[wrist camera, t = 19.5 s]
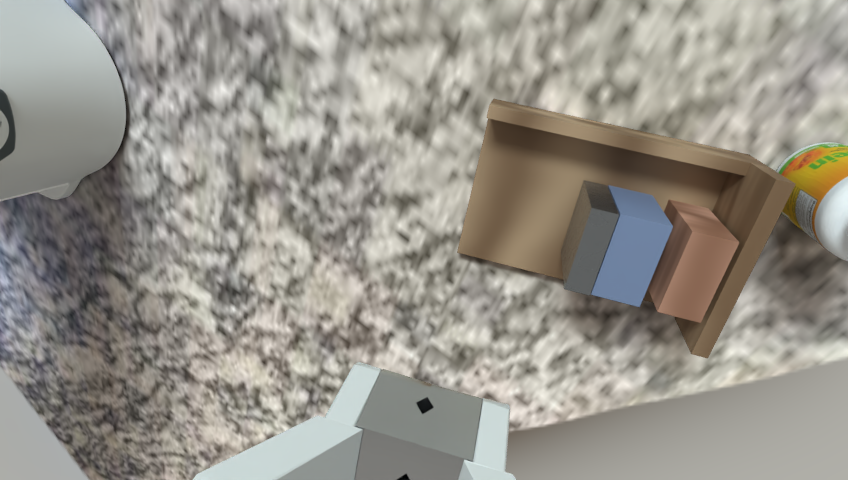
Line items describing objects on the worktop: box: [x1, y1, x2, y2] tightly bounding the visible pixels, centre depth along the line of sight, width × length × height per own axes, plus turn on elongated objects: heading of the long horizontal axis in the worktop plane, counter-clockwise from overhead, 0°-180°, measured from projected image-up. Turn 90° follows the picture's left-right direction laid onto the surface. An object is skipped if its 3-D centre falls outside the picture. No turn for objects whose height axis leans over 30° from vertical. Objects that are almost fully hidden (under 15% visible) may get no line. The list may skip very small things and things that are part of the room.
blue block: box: [591, 185, 673, 307], centre depth 34 cm, size 3×6×6 cm, turn 169°
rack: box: [457, 99, 796, 358], centre depth 34 cm, size 17×12×7 cm
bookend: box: [561, 180, 619, 295], centre depth 34 cm, size 2×6×6 cm, turn 169°
